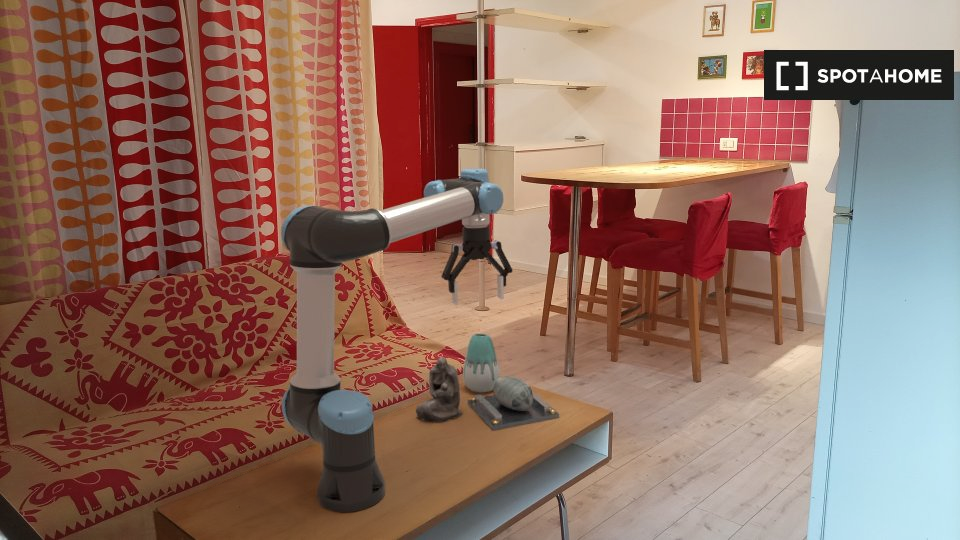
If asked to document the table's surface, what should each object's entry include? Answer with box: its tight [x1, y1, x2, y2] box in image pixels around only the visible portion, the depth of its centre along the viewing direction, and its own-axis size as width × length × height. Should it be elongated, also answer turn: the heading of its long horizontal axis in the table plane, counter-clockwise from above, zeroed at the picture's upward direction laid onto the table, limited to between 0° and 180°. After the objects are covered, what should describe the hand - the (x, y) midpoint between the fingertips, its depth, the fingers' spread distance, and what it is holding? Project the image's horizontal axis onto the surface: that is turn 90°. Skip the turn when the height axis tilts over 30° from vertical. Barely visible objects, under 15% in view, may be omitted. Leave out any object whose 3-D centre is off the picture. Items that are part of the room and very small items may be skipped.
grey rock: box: [493, 375, 533, 411], centre depth 207 cm, size 14×10×10 cm
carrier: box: [467, 390, 560, 431], centre depth 208 cm, size 20×20×3 cm
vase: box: [462, 332, 501, 394], centre depth 223 cm, size 12×12×18 cm
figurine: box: [415, 356, 463, 423], centre depth 205 cm, size 13×12×18 cm
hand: (478, 300), depth 202 cm, fingers open, 13 cm apart
